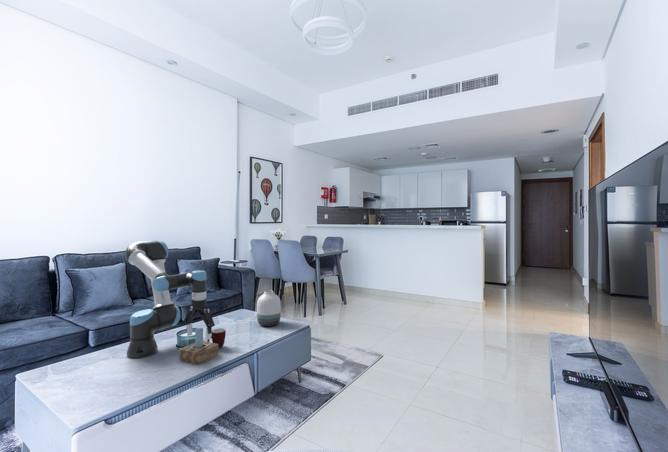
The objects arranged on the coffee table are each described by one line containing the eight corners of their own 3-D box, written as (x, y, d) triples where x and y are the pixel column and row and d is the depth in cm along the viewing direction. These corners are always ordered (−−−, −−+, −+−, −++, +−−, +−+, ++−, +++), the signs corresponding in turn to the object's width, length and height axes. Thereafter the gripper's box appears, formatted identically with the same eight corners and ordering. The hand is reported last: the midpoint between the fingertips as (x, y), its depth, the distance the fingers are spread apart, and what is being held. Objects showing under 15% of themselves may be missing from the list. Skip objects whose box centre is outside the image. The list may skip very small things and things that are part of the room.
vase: (256, 321, 240) (256, 289, 240) (279, 319, 245) (278, 288, 245) (257, 329, 224) (257, 294, 224) (282, 326, 229) (282, 293, 229)
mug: (211, 352, 184) (211, 335, 184) (204, 348, 189) (204, 332, 189) (228, 347, 192) (228, 330, 192) (221, 343, 197) (221, 327, 197)
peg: (193, 358, 176) (193, 329, 176) (199, 355, 180) (199, 327, 180) (199, 359, 175) (199, 330, 175) (204, 356, 179) (204, 327, 178)
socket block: (179, 360, 174) (179, 348, 174) (199, 350, 187) (199, 340, 187) (199, 364, 168) (199, 353, 168) (218, 354, 181) (218, 343, 181)
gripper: (176, 298, 179) (176, 336, 179) (211, 303, 169) (211, 343, 169) (187, 295, 185) (187, 331, 186) (221, 299, 176) (221, 338, 176)
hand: (198, 337), depth 178 cm, fingers open, 13 cm apart
